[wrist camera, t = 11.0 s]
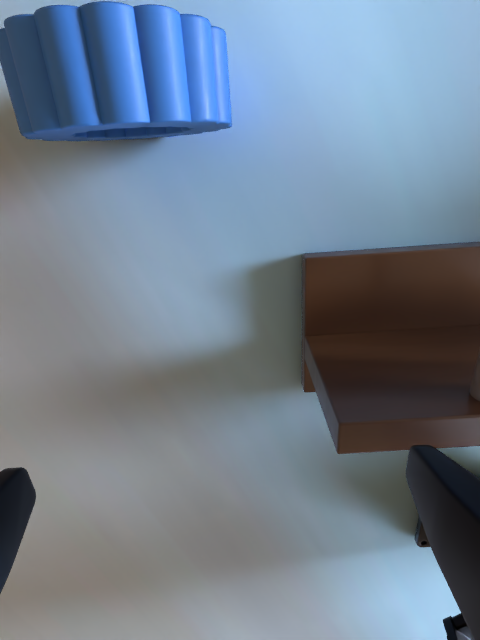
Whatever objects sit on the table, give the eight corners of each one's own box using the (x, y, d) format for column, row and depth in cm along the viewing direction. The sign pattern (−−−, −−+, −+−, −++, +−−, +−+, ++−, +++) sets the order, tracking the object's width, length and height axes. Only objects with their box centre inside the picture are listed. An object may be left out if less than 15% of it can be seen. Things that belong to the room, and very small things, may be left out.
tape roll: (248, 129, 15) (201, 114, 9) (97, 142, 17) (-37, 137, 10) (244, 56, 14) (189, -21, 8) (83, 77, 16) (-75, 25, 9)
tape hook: (500, 370, 22) (636, 480, 14) (301, 383, 22) (334, 497, 14) (576, 97, 16) (872, 45, 8) (302, 117, 16) (359, 84, 9)
